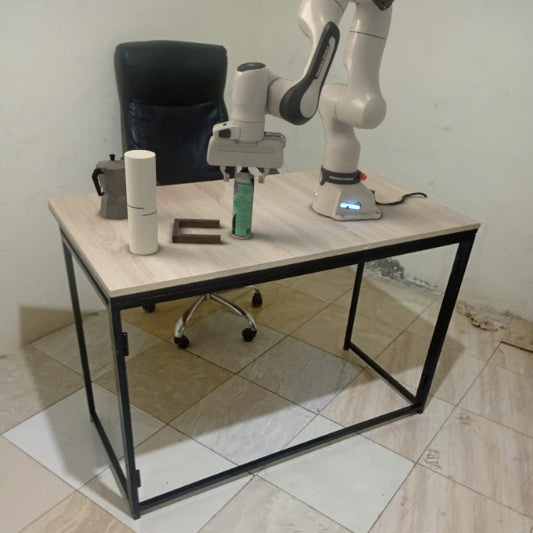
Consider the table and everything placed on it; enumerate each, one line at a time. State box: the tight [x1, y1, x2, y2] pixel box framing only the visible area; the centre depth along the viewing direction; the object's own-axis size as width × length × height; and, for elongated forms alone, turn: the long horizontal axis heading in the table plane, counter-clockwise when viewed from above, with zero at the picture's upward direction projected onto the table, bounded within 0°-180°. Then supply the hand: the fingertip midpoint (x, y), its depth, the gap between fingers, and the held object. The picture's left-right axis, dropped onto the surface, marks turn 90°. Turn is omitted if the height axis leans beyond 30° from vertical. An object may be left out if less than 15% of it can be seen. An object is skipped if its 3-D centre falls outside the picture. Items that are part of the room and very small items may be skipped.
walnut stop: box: [171, 217, 222, 245], centre depth 141 cm, size 13×12×2 cm
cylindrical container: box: [123, 149, 159, 256], centre depth 125 cm, size 7×7×25 cm
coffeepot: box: [91, 153, 128, 220], centre depth 145 cm, size 15×9×18 cm, turn 158°
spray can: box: [231, 167, 256, 240], centre depth 139 cm, size 6×6×20 cm
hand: (243, 182), depth 136 cm, fingers open, 8 cm apart
